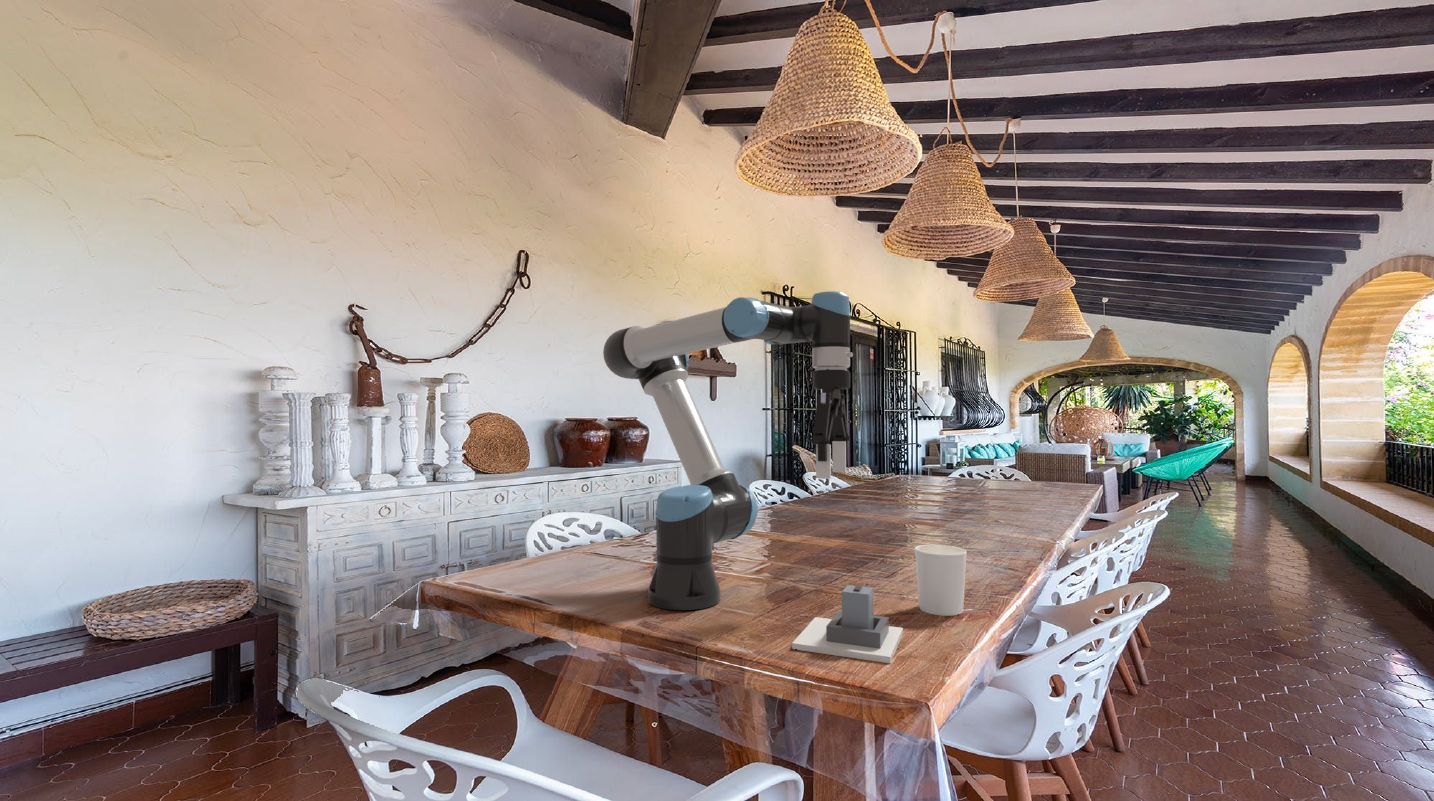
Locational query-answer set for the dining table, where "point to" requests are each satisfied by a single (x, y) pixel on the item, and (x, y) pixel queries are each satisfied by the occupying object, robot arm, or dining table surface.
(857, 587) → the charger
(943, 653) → the dining table surface
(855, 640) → the charging dock
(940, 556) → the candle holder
